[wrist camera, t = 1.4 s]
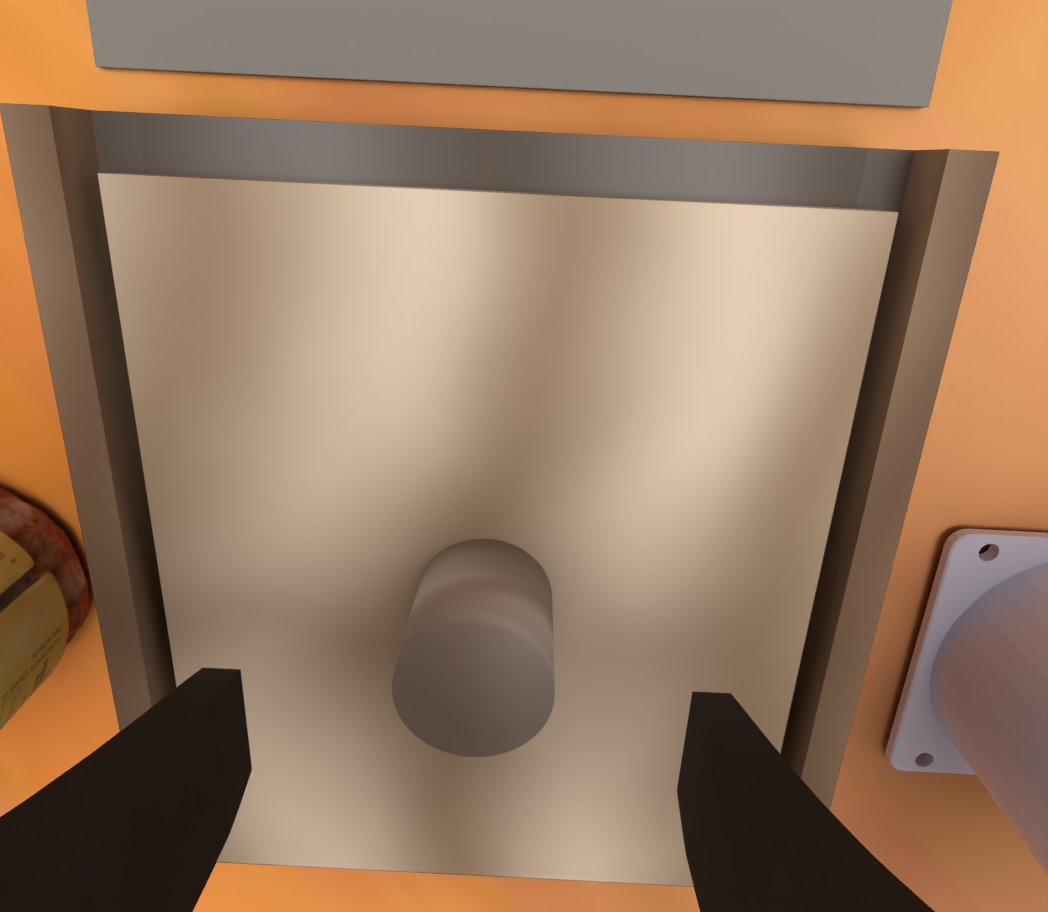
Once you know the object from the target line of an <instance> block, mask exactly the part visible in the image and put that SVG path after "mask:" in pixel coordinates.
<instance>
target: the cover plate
mask: <svg viewBox="0 0 1048 912" xmlns="http://www.w3.org/2000/svg"><path fill="white" fill-rule="evenodd" d="M98 179H99V186H100V192H101V199H102V205H103V212H104V218H105V225H106V231H107V238H108V244H109V251H110V257H111V264H112V270H113V277H114V283H115V290H116V296H117V303H118V309H119V316H120V322H121V329H122V335H123V342H124V348H125V355H126V361H127V368H128V374H129V381H130V387H131V394H132V400H133V407H134V413H135V420H136V426H137V433H138V439H139V446H140V452H141V459H142V465H143V472H144V478H145V485H146V491H147V498H148V504H149V511H150V517H151V524H152V530H153V537H154V543H155V550H156V556H157V563H158V569H159V576H160V582H161V589H162V595H163V602H164V609H165V615H166V622H167V628H168V635H169V641H170V648H171V654H172V661H173V667H174V674H175V680H176V687H178V686H179V685H180V684H181V683H183V682H184V681H185V680H187V679H188V678H189V677H191V676H192V675H193V674H195V673H196V672H197V671H199V670H200V669H201V668H222V669H241V678H242V686H243V695H244V704H245V713H246V721H247V730H248V739H249V748H250V756H251V765H252V771H251V774H250V777H249V780H248V783H247V786H246V789H245V792H244V795H243V798H242V801H241V804H240V807H239V810H238V813H237V815H236V818H235V821H234V824H233V827H232V829H231V832H230V834H229V837H228V839H227V841H226V843H225V845H224V847H223V849H222V851H221V854H220V856H219V858H218V860H217V862H229V863H248V864H268V865H287V866H307V867H326V868H346V869H365V870H385V871H404V872H424V873H443V874H463V875H482V876H502V877H521V878H541V879H560V880H580V881H599V882H619V883H638V884H658V885H677V886H694V885H693V881H692V877H691V873H690V869H689V865H688V861H687V857H686V852H685V845H684V839H683V832H682V825H681V818H680V810H679V803H678V795H677V786H678V780H679V773H680V767H681V760H682V754H683V748H684V741H685V735H686V729H687V722H688V716H689V710H690V703H691V697H692V691H694V692H714V693H731V694H732V695H733V697H734V698H735V699H736V700H737V701H738V702H739V704H740V705H741V706H742V707H743V709H744V710H745V711H746V712H747V714H748V715H749V716H750V717H751V719H752V720H753V721H754V722H755V723H756V725H757V726H758V727H759V728H760V730H761V731H762V732H763V733H764V735H765V736H766V737H767V738H768V740H769V741H770V742H771V743H772V744H773V746H774V747H775V748H776V749H777V751H778V752H779V753H780V752H781V748H782V743H783V739H784V734H785V730H786V725H787V720H788V716H789V711H790V707H791V702H792V698H793V693H794V688H795V684H796V679H797V675H798V670H799V666H800V661H801V656H802V652H803V647H804V643H805V638H806V634H807V629H808V624H809V620H810V615H811V611H812V606H813V602H814V597H815V592H816V588H817V583H818V579H819V574H820V570H821V565H822V560H823V556H824V551H825V547H826V542H827V538H828V533H829V528H830V524H831V519H832V515H833V510H834V506H835V501H836V496H837V492H838V487H839V483H840V478H841V474H842V469H843V464H844V460H845V455H846V451H847V446H848V442H849V437H850V432H851V428H852V423H853V419H854V414H855V410H856V405H857V400H858V396H859V391H860V387H861V382H862V378H863V373H864V368H865V364H866V359H867V355H868V350H869V346H870V341H871V336H872V332H873V327H874V323H875V318H876V314H877V309H878V304H879V300H880V295H881V291H882V286H883V282H884V277H885V272H886V268H887V263H888V259H889V254H890V250H891V245H892V240H893V236H894V231H895V227H896V222H897V218H898V213H899V212H893V211H885V210H878V209H857V208H837V207H816V206H796V205H775V204H755V203H734V202H714V201H693V200H673V199H652V198H632V197H612V196H591V195H571V194H550V193H530V192H509V191H489V190H468V189H448V188H427V187H407V186H386V185H366V184H346V183H325V182H305V181H284V180H264V179H243V178H223V177H202V176H182V175H161V174H141V173H98Z"/></svg>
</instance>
